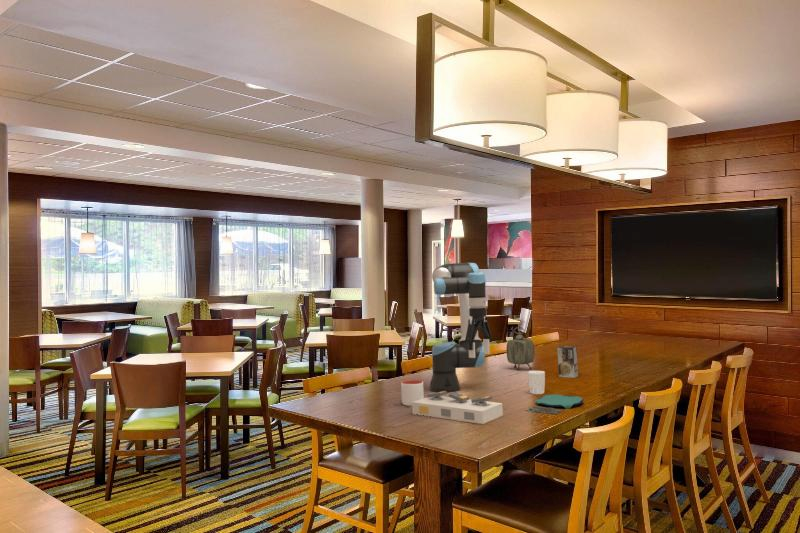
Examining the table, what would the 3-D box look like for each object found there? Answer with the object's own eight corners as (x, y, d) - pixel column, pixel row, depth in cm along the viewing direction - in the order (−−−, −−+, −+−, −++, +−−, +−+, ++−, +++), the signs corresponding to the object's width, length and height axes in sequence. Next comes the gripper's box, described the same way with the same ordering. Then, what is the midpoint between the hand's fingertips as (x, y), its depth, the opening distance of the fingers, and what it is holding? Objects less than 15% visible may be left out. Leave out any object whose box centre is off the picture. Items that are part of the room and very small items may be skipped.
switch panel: (412, 414, 256) (411, 400, 256) (434, 406, 269) (433, 393, 269) (482, 424, 235) (481, 409, 235) (502, 415, 248) (502, 401, 248)
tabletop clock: (535, 369, 355) (533, 326, 355) (527, 371, 348) (525, 328, 348) (514, 367, 365) (512, 325, 365) (505, 369, 358) (504, 327, 358)
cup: (408, 407, 268) (407, 385, 268) (398, 403, 277) (397, 381, 277) (428, 404, 273) (427, 382, 273) (417, 401, 282) (416, 379, 282)
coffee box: (578, 376, 329) (577, 346, 329) (575, 378, 324) (573, 347, 324) (561, 375, 334) (560, 345, 334) (558, 377, 329) (557, 347, 329)
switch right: (471, 403, 247) (471, 399, 247) (477, 400, 251) (477, 397, 251) (486, 401, 243) (485, 397, 243) (492, 399, 247) (491, 395, 247)
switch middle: (448, 396, 254) (449, 393, 254) (454, 394, 258) (455, 391, 258) (462, 402, 250) (463, 398, 250) (468, 399, 254) (469, 396, 254)
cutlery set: (590, 402, 267) (590, 396, 267) (560, 417, 244) (560, 411, 244) (548, 397, 280) (548, 392, 280) (516, 412, 257) (516, 406, 257)
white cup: (546, 394, 285) (545, 373, 285) (528, 394, 286) (528, 373, 286) (545, 391, 293) (544, 370, 293) (528, 391, 294) (527, 370, 294)
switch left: (427, 397, 261) (427, 394, 261) (434, 395, 265) (433, 392, 265) (440, 395, 257) (440, 392, 257) (447, 393, 260) (446, 390, 261)
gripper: (471, 309, 256) (473, 359, 256) (498, 305, 276) (499, 352, 276) (456, 309, 260) (457, 358, 260) (483, 305, 281) (485, 351, 280)
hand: (479, 355), depth 268 cm, fingers open, 13 cm apart
